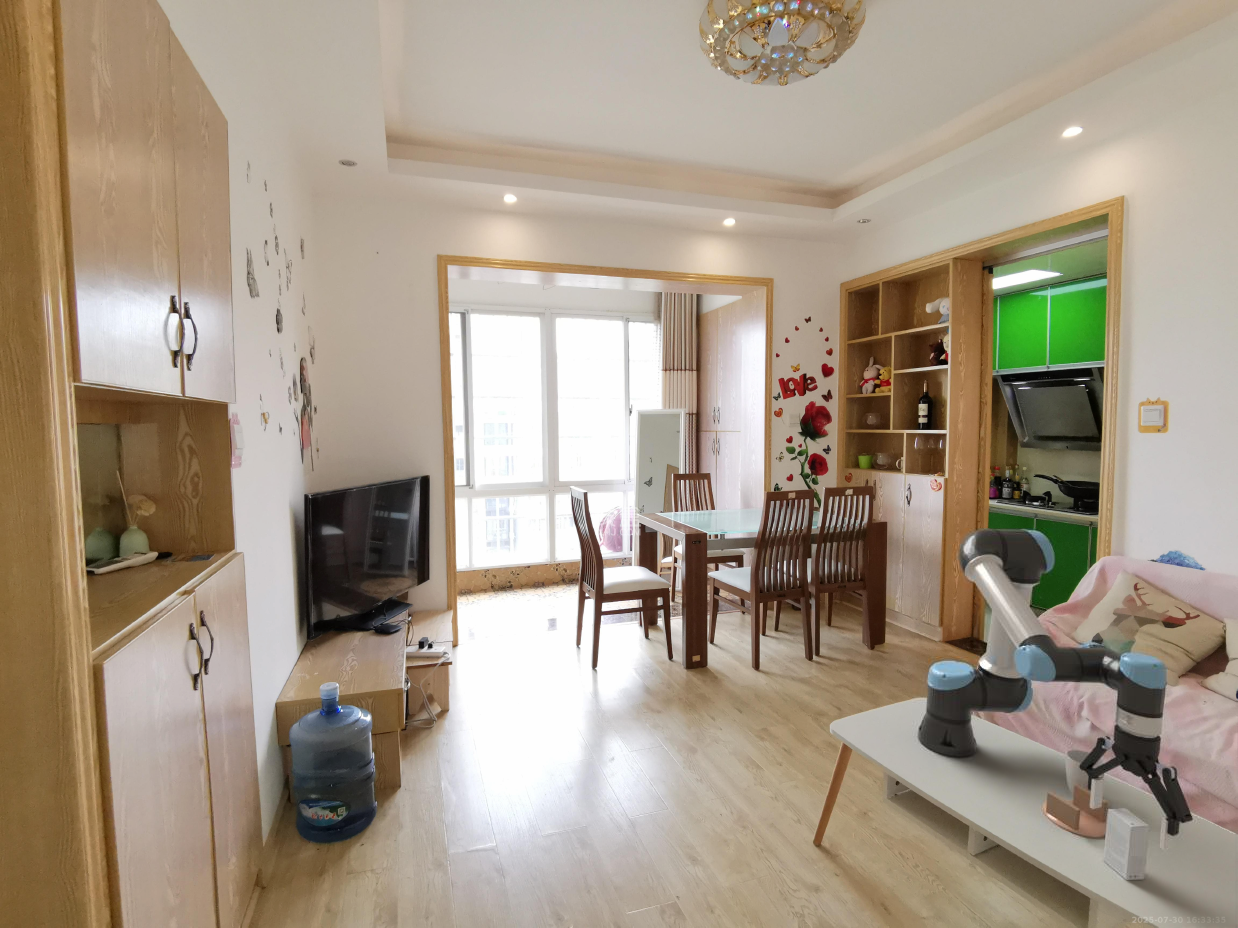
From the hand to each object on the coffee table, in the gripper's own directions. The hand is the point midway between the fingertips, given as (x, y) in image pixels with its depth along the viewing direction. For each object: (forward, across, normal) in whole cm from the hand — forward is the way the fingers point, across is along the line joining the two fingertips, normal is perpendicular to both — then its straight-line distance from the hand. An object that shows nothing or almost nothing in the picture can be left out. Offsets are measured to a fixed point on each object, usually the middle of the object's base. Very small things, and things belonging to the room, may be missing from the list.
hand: (1128, 826), depth 134 cm
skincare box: (+10, 0, 0) cm, 10 cm away
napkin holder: (+10, -16, +7) cm, 20 cm away
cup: (+10, -22, +18) cm, 30 cm away
